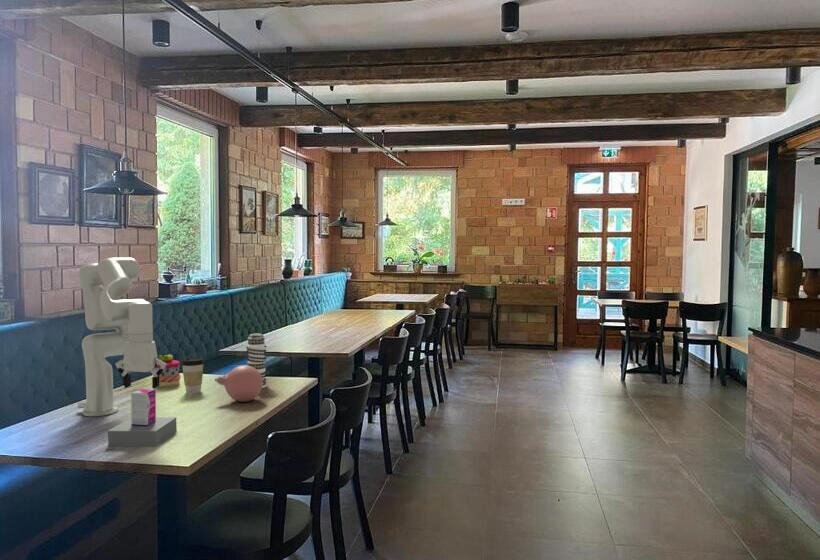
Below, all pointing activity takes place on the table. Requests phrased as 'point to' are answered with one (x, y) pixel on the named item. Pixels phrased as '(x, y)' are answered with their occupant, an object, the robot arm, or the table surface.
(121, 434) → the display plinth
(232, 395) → the balloon
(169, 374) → the cake
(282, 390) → the table surface
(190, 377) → the coffee cup
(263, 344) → the striped thermos bottle
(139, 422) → the supplement box
